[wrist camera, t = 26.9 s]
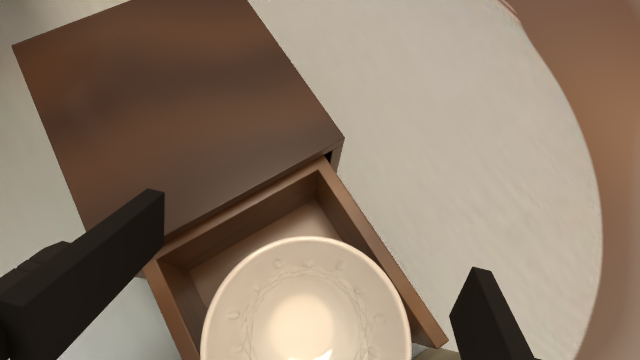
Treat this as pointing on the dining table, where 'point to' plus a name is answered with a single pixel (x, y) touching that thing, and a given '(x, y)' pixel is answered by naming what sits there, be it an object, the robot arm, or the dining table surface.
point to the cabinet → (173, 107)
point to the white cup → (306, 306)
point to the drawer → (264, 228)
